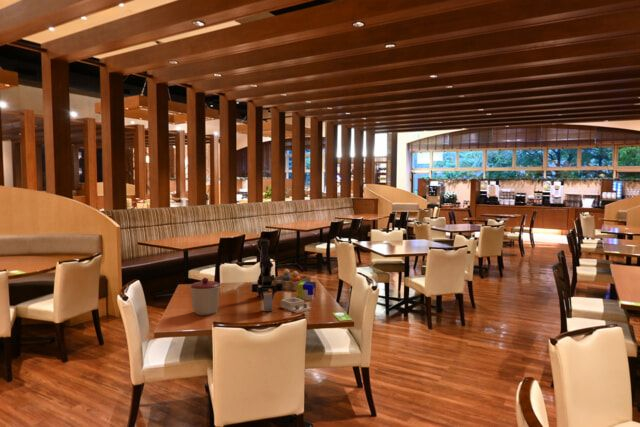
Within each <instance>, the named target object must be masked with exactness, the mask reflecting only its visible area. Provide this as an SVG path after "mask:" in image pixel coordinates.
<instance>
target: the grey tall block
mask: <svg viewBox="0 0 640 427" xmlns="http://www.w3.org/2000/svg"><path fill="white" fill-rule="evenodd" d="M263 296H264V300H263V299H262V302H263V304H262V307H263V308H262V310H263V312H272V311H273V300H272V290H269V291H263Z"/></svg>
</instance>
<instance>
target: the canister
mask: <svg viewBox="0 0 640 427" xmlns="http://www.w3.org/2000/svg"><path fill="white" fill-rule="evenodd" d="M221 286H222V284H221V283H219V282H218V281H213V280H209V278H207V277H203V278H202V280H201V281H196V282H193V283H192V284H190V285H189V287H188V288H189V289H190V295H191V302H192V309H193V313H194V314H196V315H198V316H210V315H214V314H215V313H216V312H217V311H218V305H219V300H220V299H219V298H220V288H221Z"/></svg>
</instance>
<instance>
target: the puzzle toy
mask: <svg viewBox="0 0 640 427" xmlns="http://www.w3.org/2000/svg"><path fill="white" fill-rule="evenodd" d="M316 286H317V284H316V281H311V282H306V281H301V282H300V283H299V284H298V290H297V298H298V299H301V300H304V301H307V300H309V301H313V300H314V299H315V298H316V294H317V292H316V290H317V289H316V288H317V287H316Z"/></svg>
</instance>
